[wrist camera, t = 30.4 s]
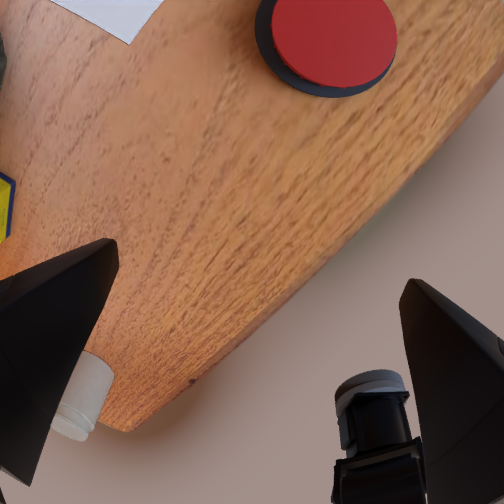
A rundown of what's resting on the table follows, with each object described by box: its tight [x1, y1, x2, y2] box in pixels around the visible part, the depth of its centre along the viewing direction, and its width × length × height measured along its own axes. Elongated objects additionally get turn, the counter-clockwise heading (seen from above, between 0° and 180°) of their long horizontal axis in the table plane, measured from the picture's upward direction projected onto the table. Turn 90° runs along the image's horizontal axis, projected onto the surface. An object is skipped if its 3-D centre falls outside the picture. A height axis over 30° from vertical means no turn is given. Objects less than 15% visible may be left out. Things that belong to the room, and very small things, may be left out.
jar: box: [51, 351, 115, 441], centre depth 27 cm, size 6×6×9 cm
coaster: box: [255, 0, 396, 98], centre depth 14 cm, size 8×8×1 cm
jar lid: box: [270, 0, 397, 89], centre depth 13 cm, size 6×6×2 cm
